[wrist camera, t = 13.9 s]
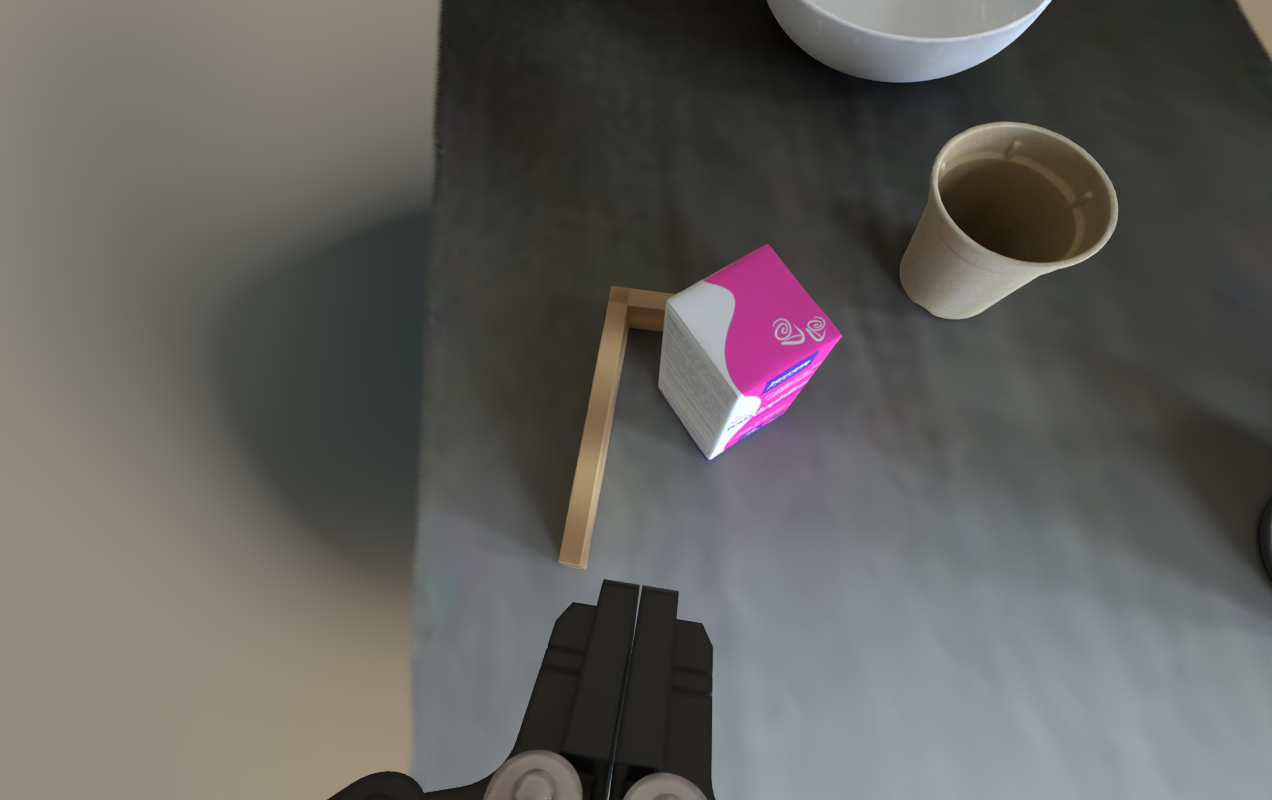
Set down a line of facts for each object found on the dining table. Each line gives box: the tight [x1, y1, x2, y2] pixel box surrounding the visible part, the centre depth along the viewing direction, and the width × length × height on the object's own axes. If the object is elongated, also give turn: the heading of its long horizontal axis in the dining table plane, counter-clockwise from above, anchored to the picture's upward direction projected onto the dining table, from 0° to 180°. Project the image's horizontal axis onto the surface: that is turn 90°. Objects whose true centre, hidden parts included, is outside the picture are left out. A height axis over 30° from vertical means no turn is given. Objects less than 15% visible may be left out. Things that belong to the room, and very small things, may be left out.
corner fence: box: [558, 286, 676, 569], centre depth 34 cm, size 16×11×3 cm, turn 171°
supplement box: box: [658, 244, 842, 461], centre depth 31 cm, size 6×6×12 cm
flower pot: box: [900, 122, 1118, 319], centre depth 35 cm, size 9×9×9 cm
